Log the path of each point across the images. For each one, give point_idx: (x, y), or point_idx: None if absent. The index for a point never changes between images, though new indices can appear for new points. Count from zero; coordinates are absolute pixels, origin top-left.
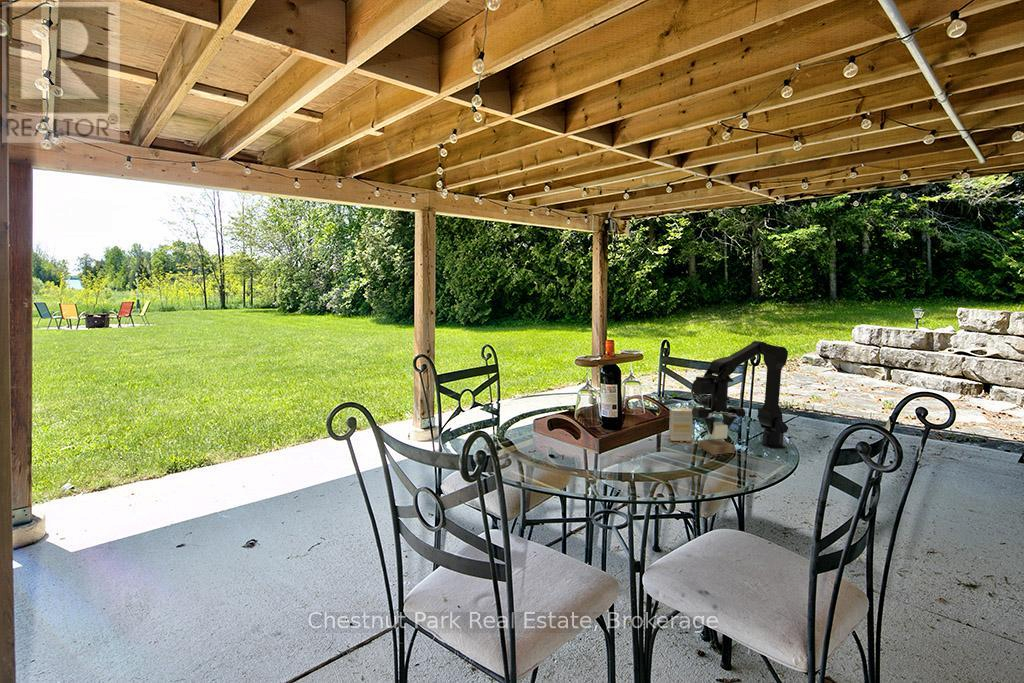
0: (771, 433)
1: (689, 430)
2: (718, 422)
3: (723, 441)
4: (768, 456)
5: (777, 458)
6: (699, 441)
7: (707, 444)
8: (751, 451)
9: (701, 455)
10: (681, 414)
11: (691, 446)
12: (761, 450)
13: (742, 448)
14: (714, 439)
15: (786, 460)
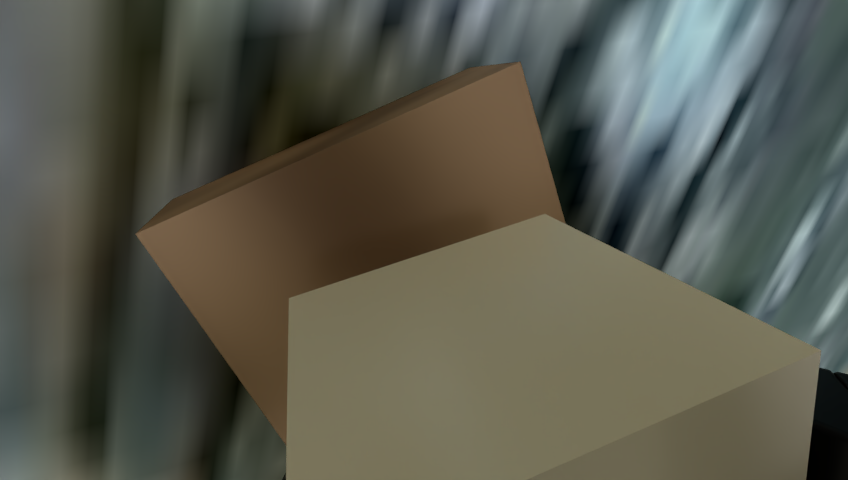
0: None
1: None
2: (699, 470)
3: (533, 214)
4: (780, 312)
5: (810, 342)
6: (147, 235)
7: (260, 406)
8: (729, 204)
9: (179, 469)
10: None
11: (51, 130)
12: (824, 153)
13: (699, 114)
14: (431, 127)
15: (836, 368)
